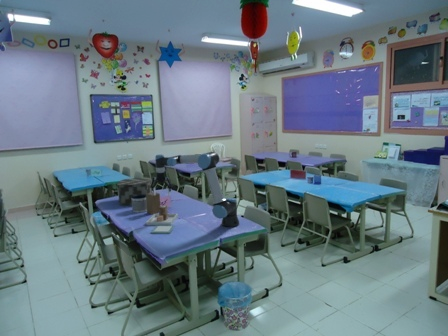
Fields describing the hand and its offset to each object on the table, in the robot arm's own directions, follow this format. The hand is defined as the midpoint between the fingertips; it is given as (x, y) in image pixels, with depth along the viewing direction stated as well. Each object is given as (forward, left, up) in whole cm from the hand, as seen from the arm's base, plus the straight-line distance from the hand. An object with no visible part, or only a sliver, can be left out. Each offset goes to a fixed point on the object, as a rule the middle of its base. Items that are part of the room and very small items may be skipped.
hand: (161, 195), depth 293 cm
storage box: (+51, -66, -24) cm, 86 cm away
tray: (0, +4, -23) cm, 24 cm away
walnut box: (0, 0, -23) cm, 23 cm away
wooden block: (+16, -21, -24) cm, 35 cm away
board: (-7, +26, -23) cm, 36 cm away
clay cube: (0, +11, -23) cm, 25 cm away
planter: (+33, -30, -24) cm, 50 cm away
